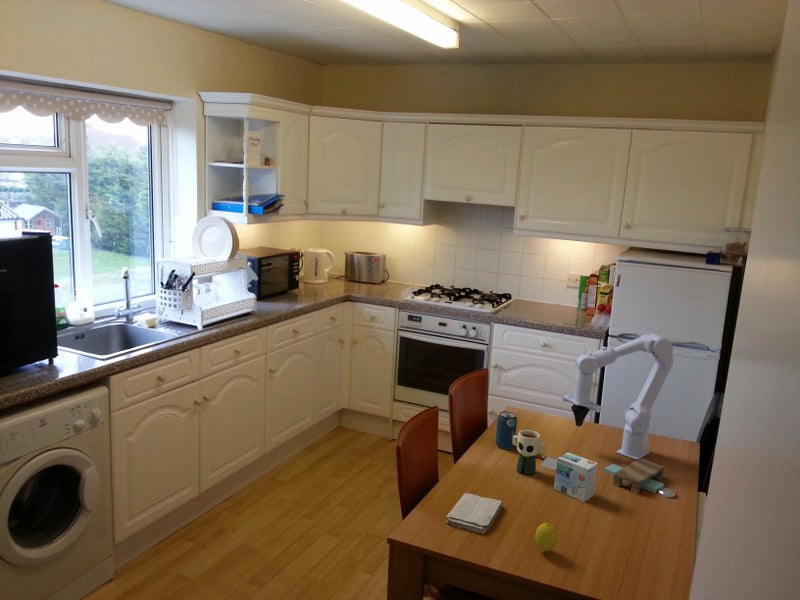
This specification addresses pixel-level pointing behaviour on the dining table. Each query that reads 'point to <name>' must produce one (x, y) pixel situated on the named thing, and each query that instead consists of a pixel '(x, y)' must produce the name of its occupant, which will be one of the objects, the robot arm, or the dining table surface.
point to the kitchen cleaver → (547, 461)
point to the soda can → (506, 429)
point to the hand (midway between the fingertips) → (578, 425)
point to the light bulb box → (575, 476)
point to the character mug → (528, 450)
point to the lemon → (546, 537)
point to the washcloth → (474, 513)
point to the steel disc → (666, 492)
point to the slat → (647, 484)
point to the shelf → (638, 474)
